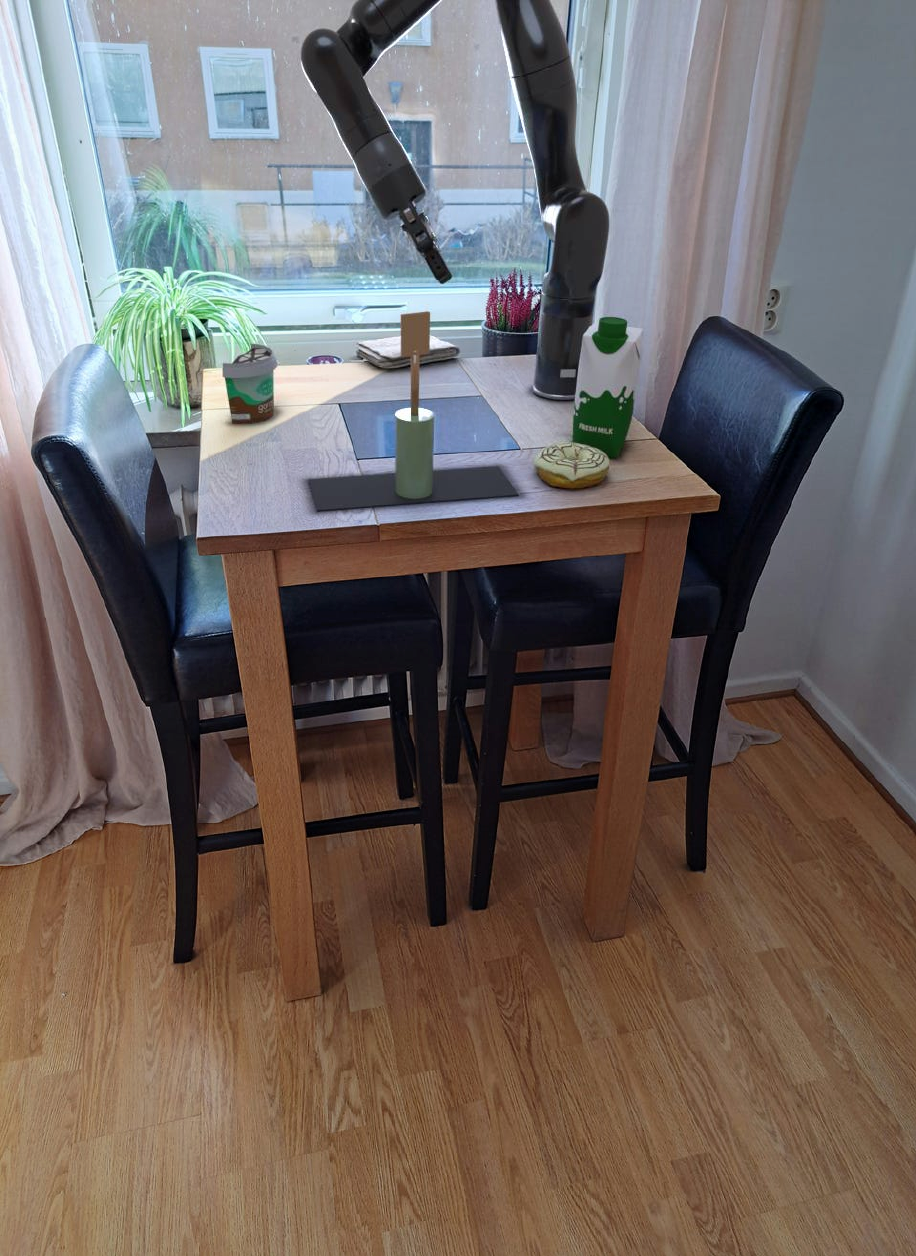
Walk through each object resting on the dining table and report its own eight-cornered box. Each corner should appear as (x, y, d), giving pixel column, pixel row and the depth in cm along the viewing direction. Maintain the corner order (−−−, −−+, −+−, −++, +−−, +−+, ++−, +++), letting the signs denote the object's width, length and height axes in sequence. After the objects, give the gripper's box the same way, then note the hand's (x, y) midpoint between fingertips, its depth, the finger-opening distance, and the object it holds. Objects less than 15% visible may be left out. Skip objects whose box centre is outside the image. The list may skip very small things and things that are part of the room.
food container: (265, 430, 140) (259, 367, 134) (228, 426, 141) (221, 364, 135) (291, 405, 150) (287, 345, 145) (257, 401, 151) (251, 342, 145)
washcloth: (352, 355, 175) (351, 339, 173) (428, 343, 183) (429, 328, 182) (382, 372, 167) (381, 355, 165) (460, 359, 175) (461, 343, 174)
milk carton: (565, 453, 137) (579, 320, 126) (578, 433, 144) (592, 306, 133) (621, 462, 134) (641, 328, 123) (631, 442, 142) (651, 313, 131)
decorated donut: (519, 476, 129) (521, 451, 127) (564, 456, 135) (567, 433, 133) (576, 498, 123) (579, 473, 121) (620, 477, 130) (624, 453, 127)
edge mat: (498, 467, 131) (498, 466, 131) (518, 495, 123) (518, 494, 123) (308, 480, 125) (308, 479, 125) (316, 511, 117) (316, 510, 117)
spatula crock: (421, 480, 126) (423, 306, 113) (439, 494, 122) (444, 316, 109) (388, 487, 124) (387, 310, 110) (406, 501, 120) (407, 320, 107)
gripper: (406, 152, 121) (465, 262, 125) (415, 170, 135) (468, 269, 139) (360, 183, 123) (420, 291, 127) (373, 198, 136) (427, 295, 140)
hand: (445, 279), depth 133 cm, fingers open, 8 cm apart
